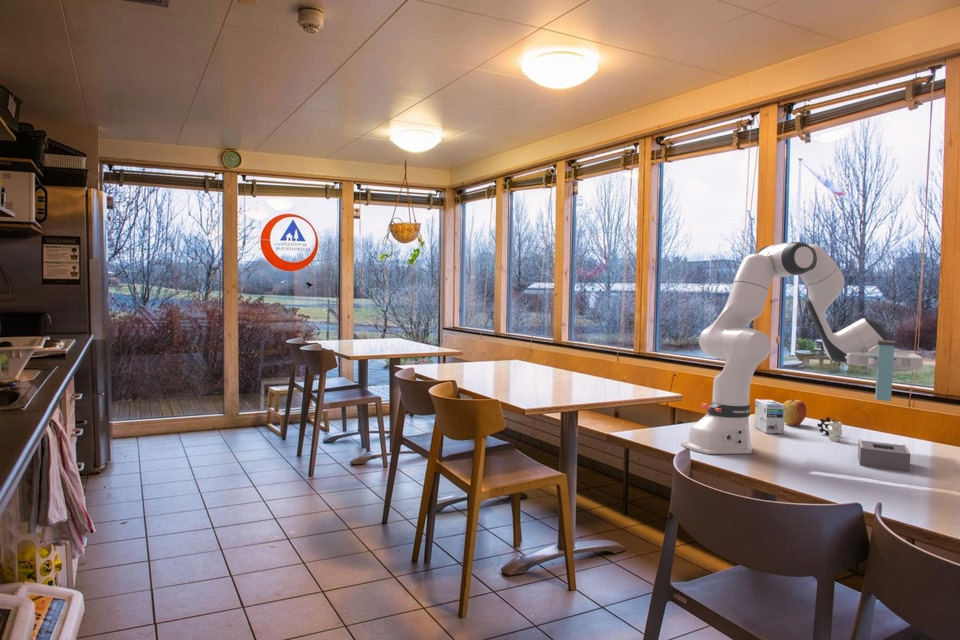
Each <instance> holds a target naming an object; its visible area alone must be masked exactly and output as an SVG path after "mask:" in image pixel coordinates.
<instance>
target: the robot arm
mask: <svg viewBox="0 0 960 640" xmlns="http://www.w3.org/2000/svg"><path fill="white" fill-rule="evenodd" d="M792 276H799V277H800V278H801V280H802V281H803V283H804V284H805V286H806V288H807V295H808V296H807V297H806V298H805V305H806V308H807V310H808V313H809V315H810V317H811V320H812V322H813V324H814V327H815V329H816V331H817V333H818V335H819V337H820V339H821V342H822V346H823V351H824V353H825V354H826V356H827V357H828V358H829V359H830V360H831V361H832V362H836V363H841V364H843V363H844V364H845V363H846V364H847V365H851V366H862V367H869V368H870V369H871V370H872V371H874V372H875V373H877V365H878V343H877V342H878V340H885V341H890V338H889V335H888V334H887V332H886V331H885V330H884V328H883V327H882V326H881V325H880V324H879V323H878V322H877V321H876V320H874V319H872V318H869V317H862V318H860V319H858V320H856V321H854V322H853V323H851V324H850V325H847V326H846V327H844V328H843V329H839V330H838V331H837V332H833V331H832V329H831V327H830V324H829V323H828V321H827V318H826V312H827V311H828V308H829V307H830V306H831V304H832V303H833V302H834V301H835V300H836V299H837V298H838V297H839V296H840V294H841V293H842V291H843V289H844V286H845V276H844V275H843V273H842V271H841V269H840V268H839V266H838V265H837V263H836V262H835V260H834V259H833V258H832V257H831V255H829V254H828V253H827V251H825V249H824V248H822V246H820V245H818V244H815V243H809V244H808V243H806V242H801V241H792V242H779V243H775V244H771V245H766V246H764V247H761V248H759V249H758V251H756V252H755V253H750V254H748V255H746V256H745V257H744V258H743V259H742V261H741V263H740V265H739V267H738V268H737V272H736V274H735V276H734V279H733V283H732V285H731V288H730V292H729V294H728V297H727V300H726V303H725V305H724V307H723V309H722V310H721V312H720V314H719V315H718V317H717V318H716V319H715V320H714V321H713V323H711V324H710V325H708V327H705V328H704V329H703V330H702V331H701V333H700V335H699V338H698V339H699V340H698V343H699V347H700V349H701V351H702V352H703V353H704V354H706V355H708V356H710V357H712V358H714V359H720V360H725V363H724V366H723V368H722V370H721V372H719V373H718V374H716V375H715V376H714V378H713V384H712V401H711V402H710V404H709V403H705V402H703V403H702V404H701V409H702V410H705V411H707V413H706V414H705V415H704V416H702V418H701V419H699V420H698V421H697V422H695V423H694V424H693V425H691V427H690V429H689V431H688V439H687V440H686V439H685V440H681V441H680V445H681V446H682V447H684V448H687V449H689V450H691V451H693V452H694V451H695V452H698V453H702V454H709V455H719V454H720V455H721V454H724V455H726V454H727V455H728V454H729V455H730V454H731V455H732V454H734V455H735V454H752V453H753V452H752V450H753V446H752V441H751V432H750V422H749V417H750V416H751V405H750V393H751V392H750V391H751V384H752V379H753V376H754V373H755V372H756V369H757V368H758V366H759V365H760V364H761V363H762V362H764V361H765V360H766V359H768V356H770V352H771V349H772V344H771V340H770V337H769V336H768V335H767V334H766V333H764V332H762V331H760V330H757V329H754V328H749V327H748V326H749V324H751V322H753V320H756V319H757V318H759V317H760V316H761V315H762V313H763V311H764V308H765V305H766V301H767V297H768V295H769V290H770V287H771V282H772V280H773V279H774V277H776V278H778V277H779V278H786V277H792ZM923 365H924V358H923V357H922V356H921V355H919V354H916V353H915V351H913V350H910V349H909V350H908V349H903V348H902V349H901V348H895V347H894V361H893V373H895V372H913V371H921V370H923Z"/></svg>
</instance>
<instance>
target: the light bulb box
mask: <svg viewBox="0 0 960 640" xmlns="http://www.w3.org/2000/svg"><path fill="white" fill-rule="evenodd" d="M754 405H755V406H754V407H755V408H754V409H755V410H754V428H755V427H756V428H755V429H757V428H758V429H757V430H759V429H760V430H759V431H761V432H763V433H765V434H774V433H779V435H784V434H785V422H784V419H785V405H784V404H783V403H781V402H778V401H775V400H773V399H760V398H759V399H758V398H755V403H754Z"/></svg>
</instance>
